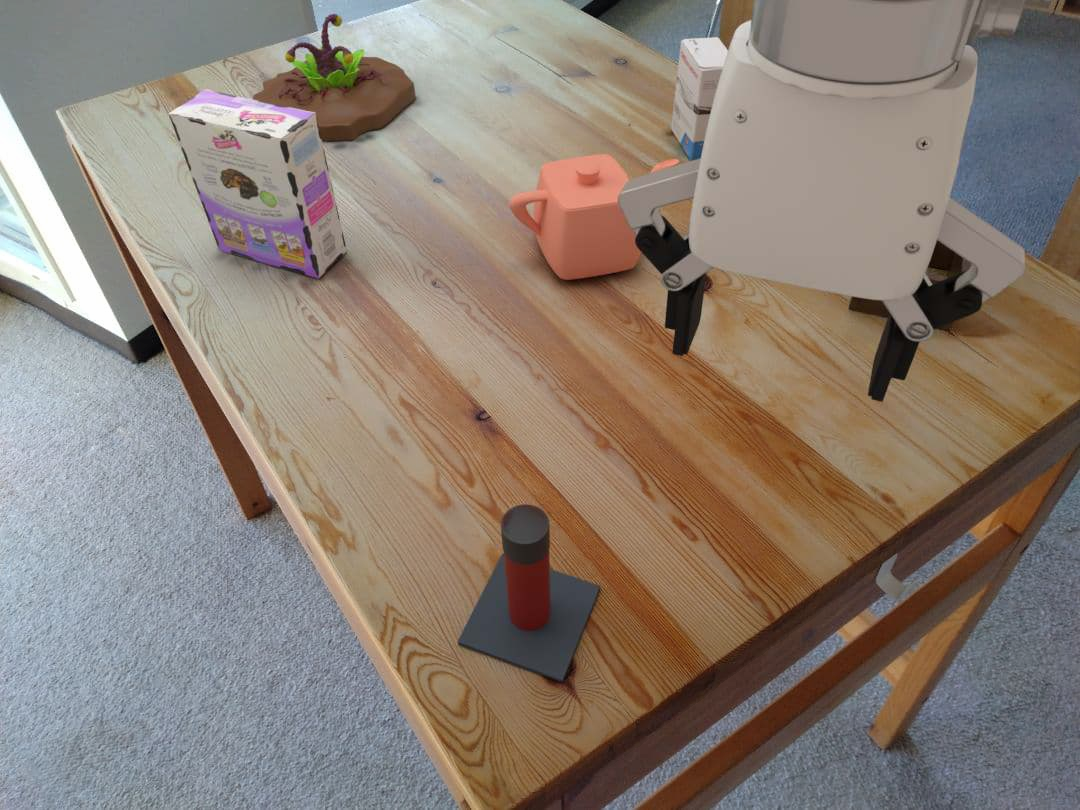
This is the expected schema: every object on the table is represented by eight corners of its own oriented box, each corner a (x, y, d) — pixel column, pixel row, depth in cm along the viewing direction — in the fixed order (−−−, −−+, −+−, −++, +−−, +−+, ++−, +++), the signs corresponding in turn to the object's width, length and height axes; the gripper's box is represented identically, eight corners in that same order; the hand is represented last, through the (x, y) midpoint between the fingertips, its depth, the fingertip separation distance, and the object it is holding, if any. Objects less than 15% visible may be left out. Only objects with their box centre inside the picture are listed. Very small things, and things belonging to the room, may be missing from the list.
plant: (440, 93, 118) (431, 10, 110) (341, 154, 107) (322, 67, 99) (338, 58, 126) (323, -21, 118) (236, 111, 116) (211, 28, 107)
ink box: (728, 158, 105) (743, 65, 96) (689, 162, 104) (701, 69, 96) (706, 124, 111) (718, 34, 102) (669, 129, 110) (678, 38, 102)
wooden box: (956, 267, 89) (974, 223, 85) (949, 331, 82) (969, 286, 78) (862, 248, 92) (875, 205, 88) (848, 309, 85) (862, 264, 81)
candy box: (350, 251, 93) (318, 110, 81) (318, 282, 89) (281, 139, 78) (249, 222, 97) (205, 84, 85) (215, 250, 94) (164, 110, 82)
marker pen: (557, 601, 62) (556, 512, 54) (541, 637, 60) (538, 550, 52) (518, 588, 63) (512, 498, 55) (501, 623, 61) (492, 535, 53)
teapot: (501, 233, 95) (495, 149, 87) (653, 208, 98) (661, 125, 90) (525, 296, 87) (521, 210, 80) (689, 267, 90) (701, 181, 82)
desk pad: (600, 588, 63) (600, 585, 63) (562, 683, 58) (562, 680, 58) (502, 555, 66) (502, 552, 65) (457, 644, 60) (457, 641, 60)
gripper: (1118, 0, 31) (964, 350, 43) (655, -44, 35) (636, 282, 48) (1136, 92, 26) (957, 456, 38) (598, 27, 31) (593, 369, 43)
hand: (779, 359), depth 43 cm, fingers open, 9 cm apart
